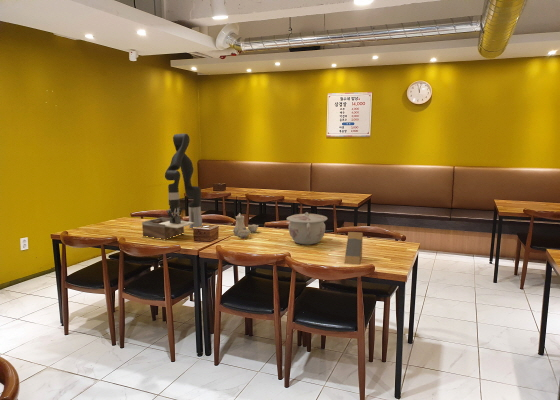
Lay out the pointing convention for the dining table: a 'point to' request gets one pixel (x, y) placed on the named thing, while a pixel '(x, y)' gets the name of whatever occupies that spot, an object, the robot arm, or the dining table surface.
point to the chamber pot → (307, 228)
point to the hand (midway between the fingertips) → (175, 222)
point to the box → (160, 229)
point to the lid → (176, 223)
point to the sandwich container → (354, 248)
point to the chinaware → (243, 227)
